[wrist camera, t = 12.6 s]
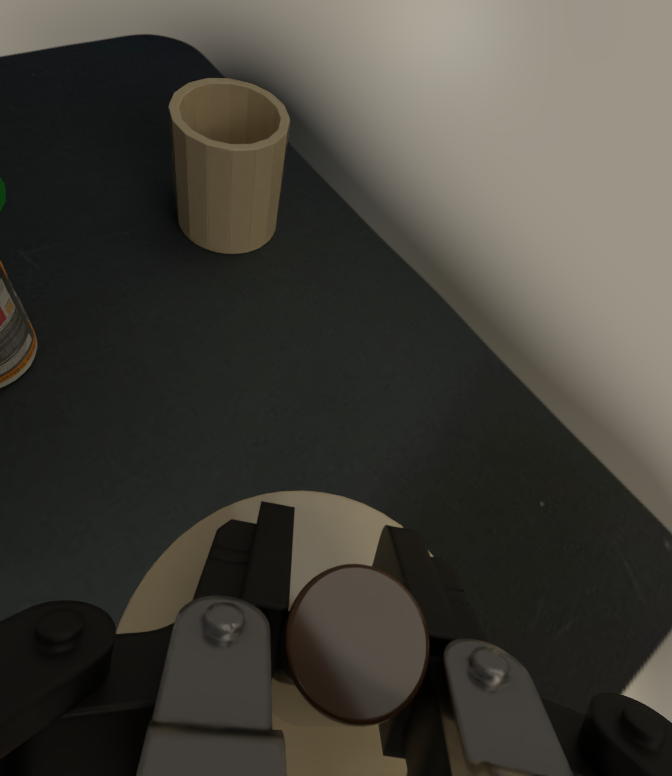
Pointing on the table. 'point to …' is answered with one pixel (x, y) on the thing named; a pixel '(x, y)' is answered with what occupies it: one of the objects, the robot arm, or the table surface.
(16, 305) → the pill bottle
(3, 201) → the toy figurine
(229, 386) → the table surface
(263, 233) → the crock
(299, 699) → the crock lid
